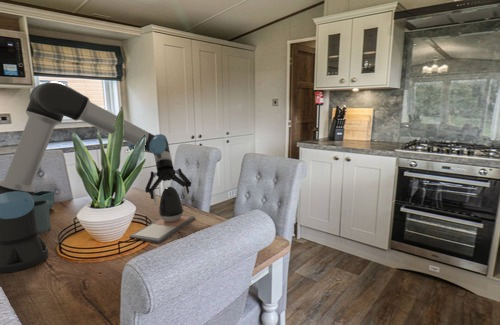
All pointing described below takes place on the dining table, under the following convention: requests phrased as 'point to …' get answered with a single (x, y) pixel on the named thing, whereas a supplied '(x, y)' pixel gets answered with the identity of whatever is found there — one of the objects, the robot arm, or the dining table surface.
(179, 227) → the board
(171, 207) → the black rounded piece
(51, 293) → the dining table surface
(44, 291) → the dining table surface
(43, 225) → the teal cup
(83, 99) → the robot arm
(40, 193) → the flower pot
